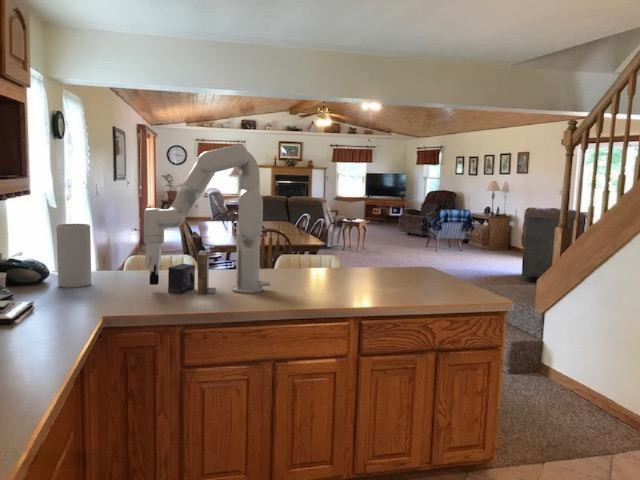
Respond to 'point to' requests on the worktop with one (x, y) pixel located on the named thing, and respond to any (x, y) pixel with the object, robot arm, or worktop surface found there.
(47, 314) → the worktop surface
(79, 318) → the worktop surface
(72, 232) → the cylinder vase
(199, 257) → the walnut block
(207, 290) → the metal bookend
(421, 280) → the worktop surface
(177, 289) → the small box
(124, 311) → the worktop surface
